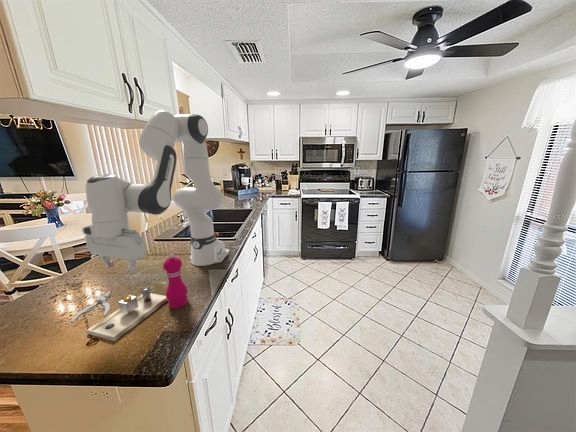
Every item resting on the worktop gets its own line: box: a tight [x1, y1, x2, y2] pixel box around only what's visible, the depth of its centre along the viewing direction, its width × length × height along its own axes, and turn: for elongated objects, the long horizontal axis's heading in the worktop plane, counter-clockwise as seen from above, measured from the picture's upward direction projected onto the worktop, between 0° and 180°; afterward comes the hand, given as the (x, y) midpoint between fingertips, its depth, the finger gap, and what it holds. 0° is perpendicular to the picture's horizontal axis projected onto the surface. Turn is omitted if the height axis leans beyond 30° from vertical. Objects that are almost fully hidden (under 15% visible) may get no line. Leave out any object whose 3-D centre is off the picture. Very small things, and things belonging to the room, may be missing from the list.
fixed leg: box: [140, 286, 152, 301], centre depth 83 cm, size 3×3×5 cm
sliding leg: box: [118, 294, 138, 314], centre depth 77 cm, size 4×3×5 cm
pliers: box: [70, 291, 112, 324], centre depth 83 cm, size 10×2×15 cm
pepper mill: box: [163, 253, 189, 309], centre depth 82 cm, size 7×7×20 cm
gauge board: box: [86, 292, 169, 342], centre depth 78 cm, size 21×11×2 cm, turn 164°
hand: (120, 268), depth 73 cm, fingers open, 8 cm apart
